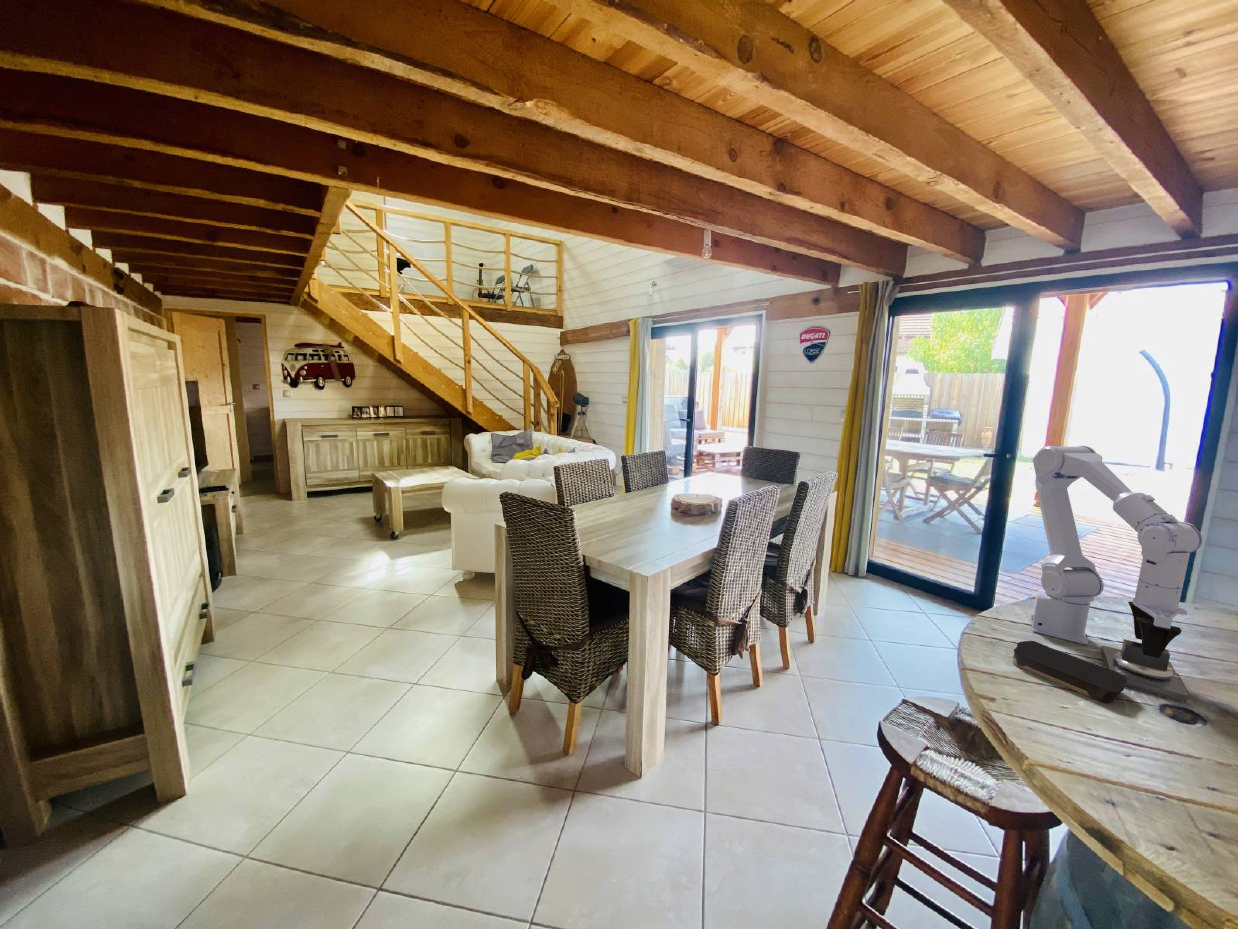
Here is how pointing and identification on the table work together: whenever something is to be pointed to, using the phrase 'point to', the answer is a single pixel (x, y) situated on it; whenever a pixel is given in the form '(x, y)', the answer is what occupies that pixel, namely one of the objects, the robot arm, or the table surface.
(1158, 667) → the dial
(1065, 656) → the dark scrub brush
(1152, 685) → the dial plate
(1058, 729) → the table surface
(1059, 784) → the table surface
